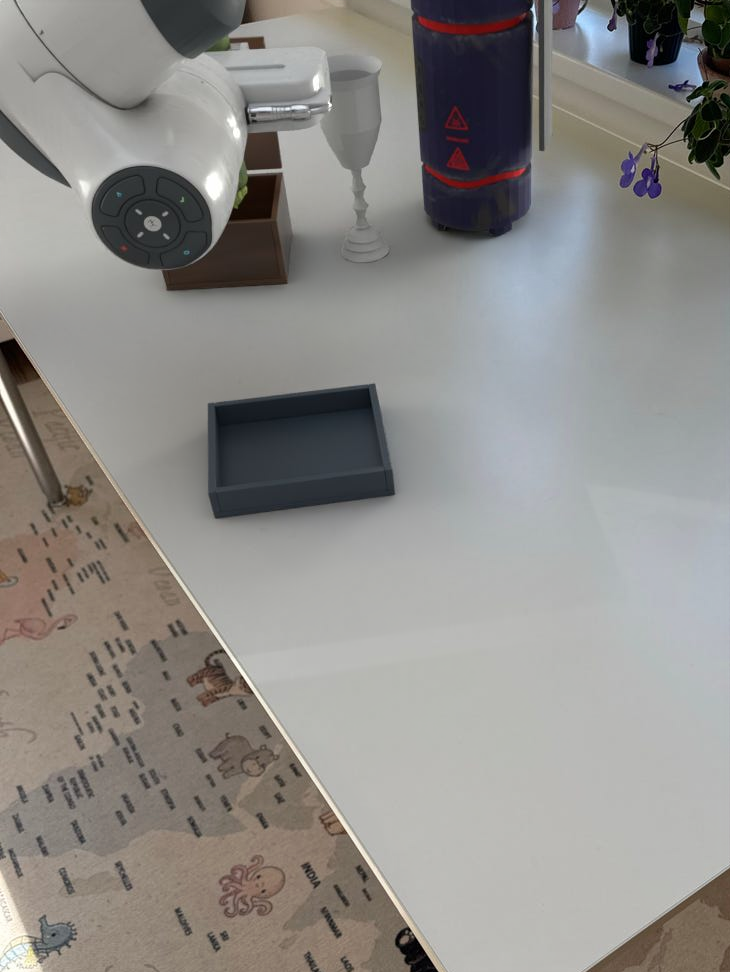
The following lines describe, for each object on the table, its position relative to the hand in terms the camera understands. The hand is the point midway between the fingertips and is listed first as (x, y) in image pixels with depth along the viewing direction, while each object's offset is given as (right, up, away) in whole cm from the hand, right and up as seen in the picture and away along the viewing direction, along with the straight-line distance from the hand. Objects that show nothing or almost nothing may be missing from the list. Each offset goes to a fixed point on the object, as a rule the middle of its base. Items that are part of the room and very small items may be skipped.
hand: (204, 55), depth 83 cm
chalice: (+10, -5, +28) cm, 30 cm away
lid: (-5, +7, +22) cm, 23 cm away
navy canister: (+23, 0, +33) cm, 40 cm away
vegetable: (0, -9, +8) cm, 12 cm away
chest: (-4, -6, +27) cm, 28 cm away
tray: (+7, -32, +3) cm, 33 cm away
